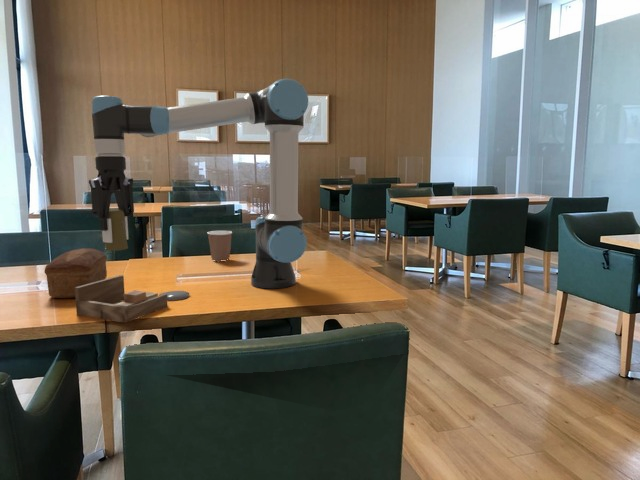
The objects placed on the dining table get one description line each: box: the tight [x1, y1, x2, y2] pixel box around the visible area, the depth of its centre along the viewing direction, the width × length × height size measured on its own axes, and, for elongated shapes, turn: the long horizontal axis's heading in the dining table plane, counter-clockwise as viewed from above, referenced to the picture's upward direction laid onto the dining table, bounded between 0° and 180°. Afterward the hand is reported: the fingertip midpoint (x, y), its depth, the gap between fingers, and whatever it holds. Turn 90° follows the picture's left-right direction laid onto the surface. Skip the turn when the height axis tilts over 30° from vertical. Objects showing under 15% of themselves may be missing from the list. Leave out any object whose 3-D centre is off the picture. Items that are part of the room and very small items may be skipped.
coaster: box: [158, 290, 190, 302], centre depth 148 cm, size 9×9×1 cm
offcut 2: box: [123, 289, 147, 304], centre depth 132 cm, size 4×4×6 cm
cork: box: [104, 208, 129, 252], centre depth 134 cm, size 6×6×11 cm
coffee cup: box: [206, 230, 233, 261], centre depth 203 cm, size 10×10×12 cm
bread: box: [44, 247, 108, 299], centre depth 156 cm, size 14×28×12 cm, turn 12°
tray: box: [75, 274, 168, 324], centre depth 134 cm, size 17×16×8 cm
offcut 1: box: [114, 301, 134, 306], centre depth 129 cm, size 4×4×4 cm
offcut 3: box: [145, 291, 159, 300], centre depth 137 cm, size 4×4×4 cm
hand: (115, 240), depth 134 cm, fingers closed on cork, 5 cm apart
